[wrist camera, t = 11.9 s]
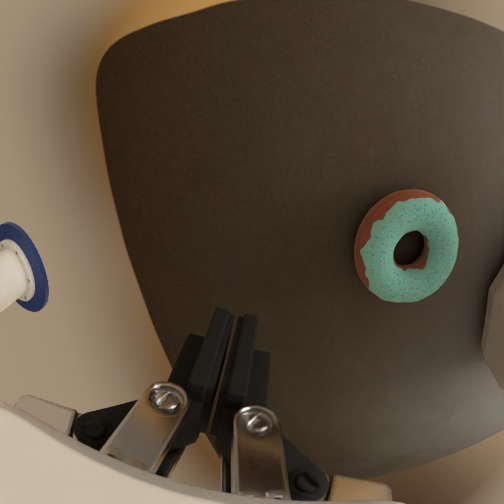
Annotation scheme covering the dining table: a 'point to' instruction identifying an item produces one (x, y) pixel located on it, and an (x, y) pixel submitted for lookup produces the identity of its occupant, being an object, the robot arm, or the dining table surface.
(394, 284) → the donut
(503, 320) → the pot
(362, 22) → the dining table surface
